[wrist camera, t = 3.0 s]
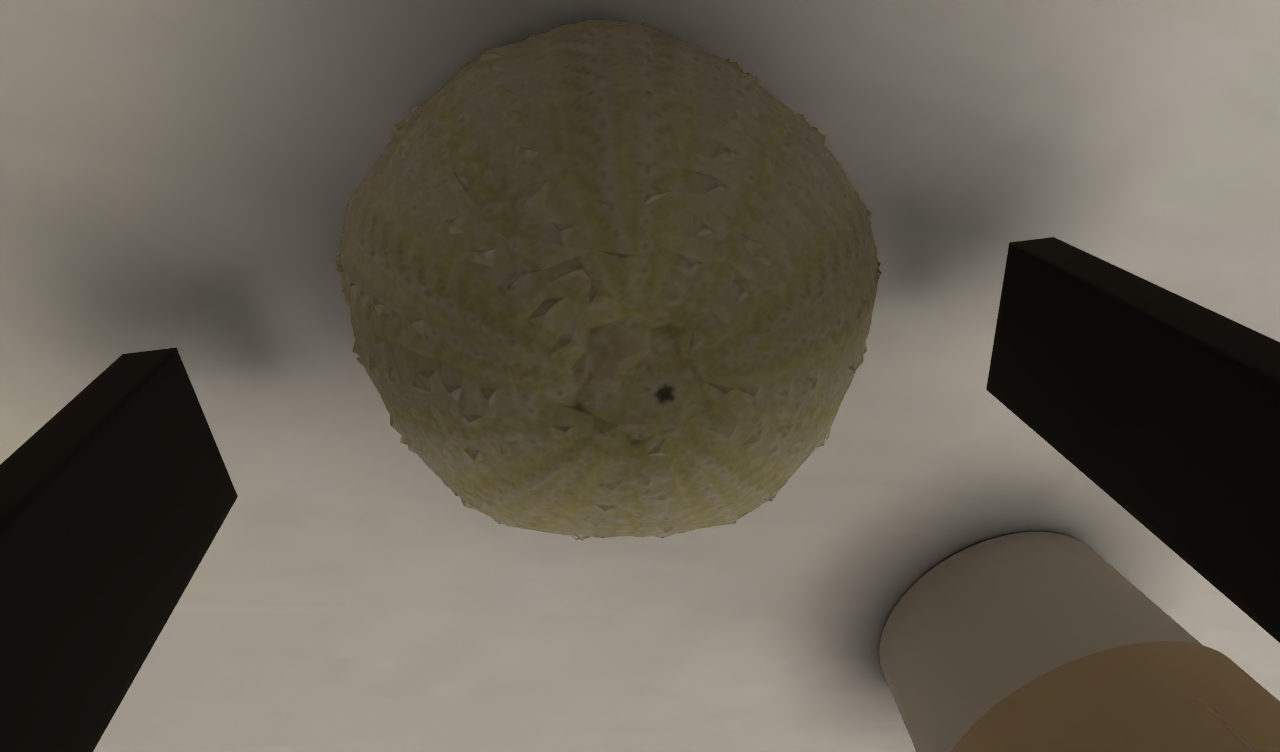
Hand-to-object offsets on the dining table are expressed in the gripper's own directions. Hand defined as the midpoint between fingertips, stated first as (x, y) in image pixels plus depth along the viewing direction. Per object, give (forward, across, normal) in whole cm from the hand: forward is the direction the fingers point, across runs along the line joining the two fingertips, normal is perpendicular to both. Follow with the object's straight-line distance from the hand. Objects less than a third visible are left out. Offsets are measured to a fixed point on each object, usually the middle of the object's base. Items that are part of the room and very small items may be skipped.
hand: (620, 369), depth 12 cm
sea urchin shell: (+4, 0, 0) cm, 4 cm away
